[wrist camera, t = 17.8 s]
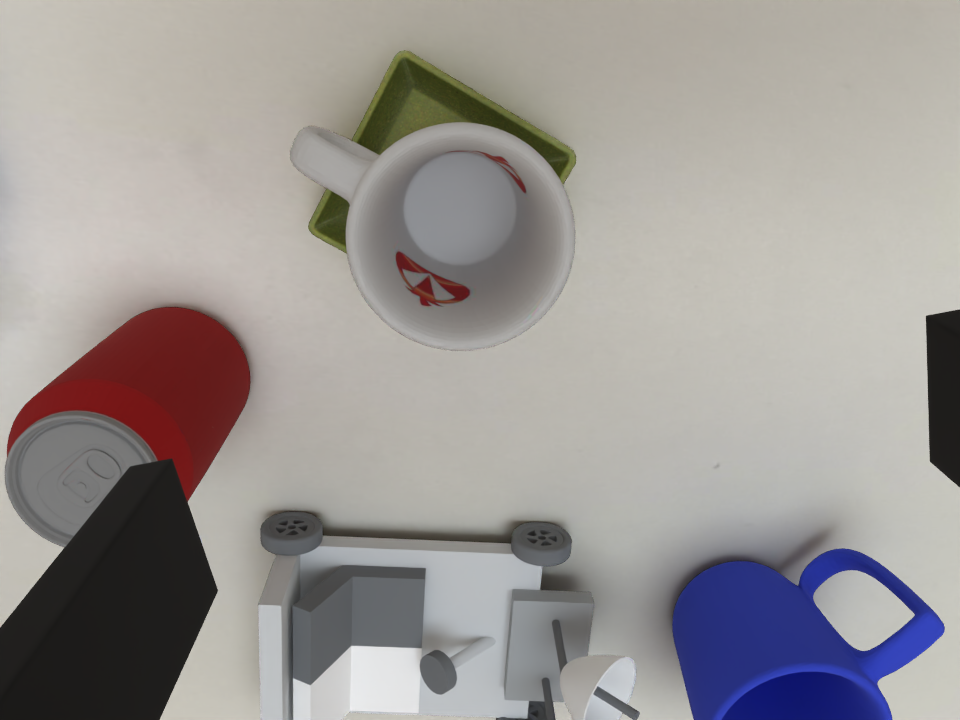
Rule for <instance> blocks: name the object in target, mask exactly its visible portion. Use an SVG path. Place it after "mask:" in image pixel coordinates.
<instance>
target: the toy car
mask: <svg viewBox="0 0 960 720" xmlns="http://www.w3.org/2000/svg"><path fill="white" fill-rule="evenodd" d="M261 544H262V546H263V547H264V548H265V549H266V550H267V551H269V552H271V553H274V554H276V557H275V559H274V562H273V565H272V568H271V570H270V573H269V576H268V579H267V582H266V584H265V587H264V590H263V593H262V596H261V598H260V601H259V604H258V619H259V666H260V713H261V720H342V719H343V718H344V717H345V716H346V715H347V714H348V713H369V714H399V715H430V716H461V717H491V718H496V720H555V713H554V707H553V702H565V704H566V706H567V708H568V711H569V713H570V714H571V716H572V718H573V720H619V719H620V717H621V716H622V714H623V713H624V714H625V715H627V716H629V717H630V718H632V719H633V720H637V718H638V717H639V711H637V710H635V709H634V708H632V707H630V706H629V705H627V704H628V702H629V700H630V698H631V695H632V692H633V689H634V685H635V680H636V666H635V662H634V661H633V659H632V658H629V657H625V656H614V655H593V656H588V649H589V641H590V633H591V625H592V617H593V609H594V601H593V597H592V593H591V592H577V591H552V590H540V585H541V575H542V566H554V565H558V564H561V563H563V562H565V561H566V560H567V559H568V558H569V556H570V553H571V544H572V540H571V537H570V535H569V534H568V532H567V531H565V530H564V529H562V528H561V527H559V526H556V525H553V524H550V523H544V522H530V523H525V524H522V525H520V526H518V527H517V528H516V529H515V530H514V531H513V533H512V539H511V544H508V543H485V542H461V541H437V540H413V539H389V538H365V537H342V536H323V525H322V523H321V521H320V520H319V519H318V518H317V517H316V516H314V515H311V514H309V513H304V512H284V513H279V514H276V515H273V516H271V517H269V518H268V519H266V520H265V521H264V522H263V524H262V526H261Z"/></svg>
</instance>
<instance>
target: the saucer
mask: <svg viewBox="0 0 960 720" xmlns="http://www.w3.org/2000/svg"><path fill="white" fill-rule="evenodd" d="M455 122H466V123H476V124H482V125H487V126H491V127H494V128H497V129H500V130H503V131H505V132H507V133H510V134H512V135H514V136H516V137H517V138H519V139H521V140H522V141H524V142H525V143H527V144H528V145H530V146H531V147H532V148H533V149H535V150H536V151H537V152H538V153H539V154H540V155H541V156H542V157H543V158H544V159H545V160H546V161H547V162H548V164H549V165H550V166H551V167H552V168H553V170H554V171H555V173H556V174H557V176H558V177H559V179H560V181H561V183H562V184H564V182H565V180H566V179H567V177H568V176H569V174H570V172H571V170H572V169H573V167H574V166H575V164H576V155H575V153H574V151H573V150H572V149H571V148H570V147H568V146H566V145H565V144H563V143H562V142H560V141H558V140H557V139H555V138H553V137H551V136H550V135H548V134H547V133H545V132H543V131H541V130H540V129H538V128H536V127H535V126H533V125H531V124H530V123H528V122H526V121H525V120H523V119H521V118H519V117H518V116H516V115H514V114H513V113H511V112H509V111H508V110H506V109H504V108H503V107H501V106H499V105H497V104H496V103H494V102H492V101H491V100H489V99H487V98H486V97H484V96H483V95H481V94H479V93H477V92H476V91H474V90H473V89H471V88H469V87H467V86H466V85H464V84H463V83H461V82H459V81H458V80H456V79H454V78H452V77H451V76H449V75H448V74H446V73H444V72H443V71H441V70H439V69H438V68H436V67H435V66H433V65H431V64H430V63H428V62H426V61H425V60H423V59H421V58H420V57H418V56H416V55H415V54H413V53H411V52H410V51H406V50H404V51H400V52H399V53H398V54H397V55H396V56H395V57H394V59H393V61H392V62H391V64H390V66H389V68H388V70H387V72H386V74H385V76H384V78H383V80H382V82H381V84H380V86H379V88H378V90H377V92H376V93H375V96H374V98H373V100H372V102H371V104H370V106H369V108H368V110H367V112H366V114H365V116H364V118H363V120H362V121H361V123H360V125H359V127H358V129H357V131H356V133H355V135H354V137H353V139H352V141H353V142H355V143H357V144H359V145H361V146H363V147H365V148H367V149H369V150H371V151H372V152H374V153H376V154H378V155H381V154H382V153H383V152H384V151H385V150H386V149H387V148H389V147H390V146H391V145H393V144H394V143H395V142H397V141H398V140H400V139H402V138H403V137H405V136H407V135H409V134H411V133H413V132H415V131H418V130H420V129H423V128H426V127H430V126H434V125H438V124H444V123H455ZM349 207H350V204H349V203H348V201H347V200H346V199H344V198H343V197H341V196H340V195H338V194H336V193H334V192H332V191H331V190H329V189H326V191H325V193H324V194H323V196H322V198H321V201H320V202H319V204H318V206H317V208H316V210H315V212H314V214H313V216H312V218H311V220H310V222H309V226H308V229H309V231H310V232H311V233H312V234H313V235H314V236H316V237H318V238H320V239H321V240H323V241H325V242H326V243H328V244H330V245H332V246H334V247H336V248H338V249H340V250H342V251H343V252H345V253H347V250H346V223H347V216H348V211H349Z"/></svg>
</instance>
